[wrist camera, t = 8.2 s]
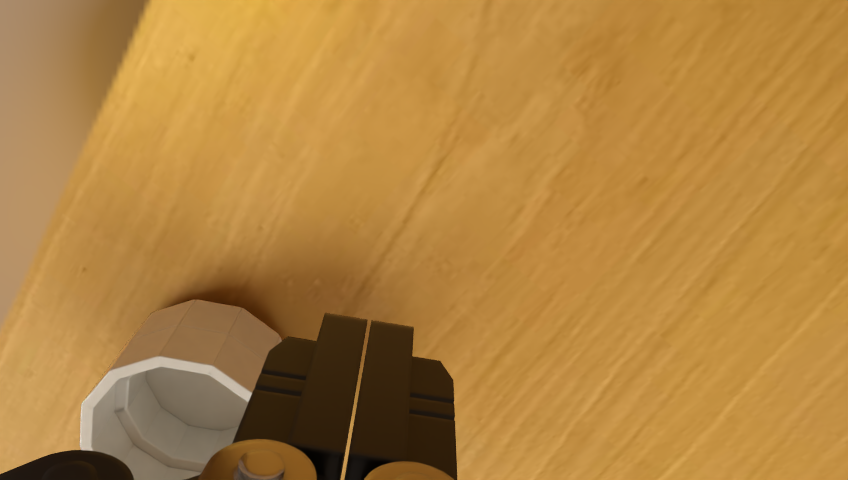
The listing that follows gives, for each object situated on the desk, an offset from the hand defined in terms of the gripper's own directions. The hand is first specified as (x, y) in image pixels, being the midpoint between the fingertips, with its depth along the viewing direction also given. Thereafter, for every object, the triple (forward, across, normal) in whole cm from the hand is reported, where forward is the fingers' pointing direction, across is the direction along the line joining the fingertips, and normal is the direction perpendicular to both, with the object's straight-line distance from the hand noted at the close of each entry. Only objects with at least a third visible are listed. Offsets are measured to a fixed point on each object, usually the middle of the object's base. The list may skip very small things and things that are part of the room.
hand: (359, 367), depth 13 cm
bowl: (+14, +6, +10) cm, 18 cm away
